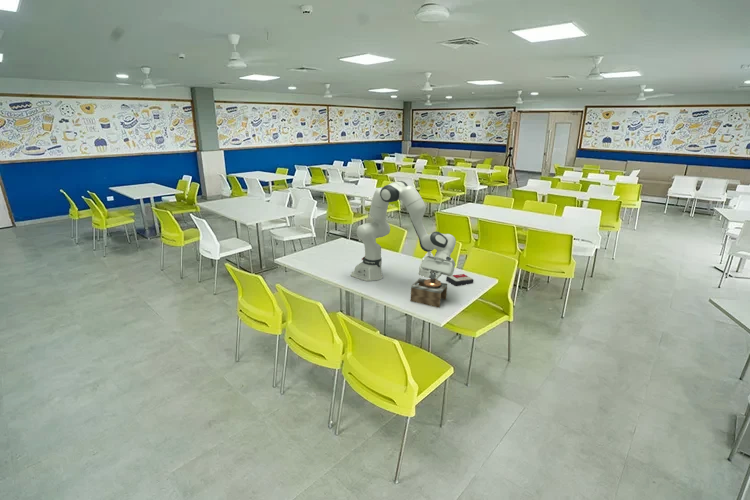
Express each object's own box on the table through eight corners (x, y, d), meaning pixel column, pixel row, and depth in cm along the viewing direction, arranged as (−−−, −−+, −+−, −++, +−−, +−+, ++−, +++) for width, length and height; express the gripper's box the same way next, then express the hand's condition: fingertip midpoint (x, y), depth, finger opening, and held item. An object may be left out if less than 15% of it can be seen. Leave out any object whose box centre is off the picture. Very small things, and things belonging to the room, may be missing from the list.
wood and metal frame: (410, 301, 230) (411, 285, 227) (418, 292, 242) (419, 278, 239) (439, 307, 222) (440, 291, 219) (446, 298, 234) (447, 283, 231)
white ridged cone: (436, 278, 267) (438, 253, 262) (418, 276, 270) (419, 252, 264) (437, 272, 279) (439, 248, 274) (419, 270, 282) (421, 247, 276)
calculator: (474, 278, 259) (456, 280, 253) (473, 284, 260) (455, 286, 254) (463, 273, 269) (446, 275, 262) (463, 279, 270) (445, 281, 263)
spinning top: (421, 292, 227) (422, 274, 224) (426, 286, 236) (428, 269, 233) (437, 295, 223) (438, 277, 220) (442, 290, 232) (443, 272, 228)
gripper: (424, 252, 235) (415, 271, 230) (455, 259, 223) (446, 279, 218) (427, 257, 239) (419, 276, 235) (457, 264, 228) (449, 284, 223)
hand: (432, 278), depth 226 cm, fingers closed on spinning top, 3 cm apart
